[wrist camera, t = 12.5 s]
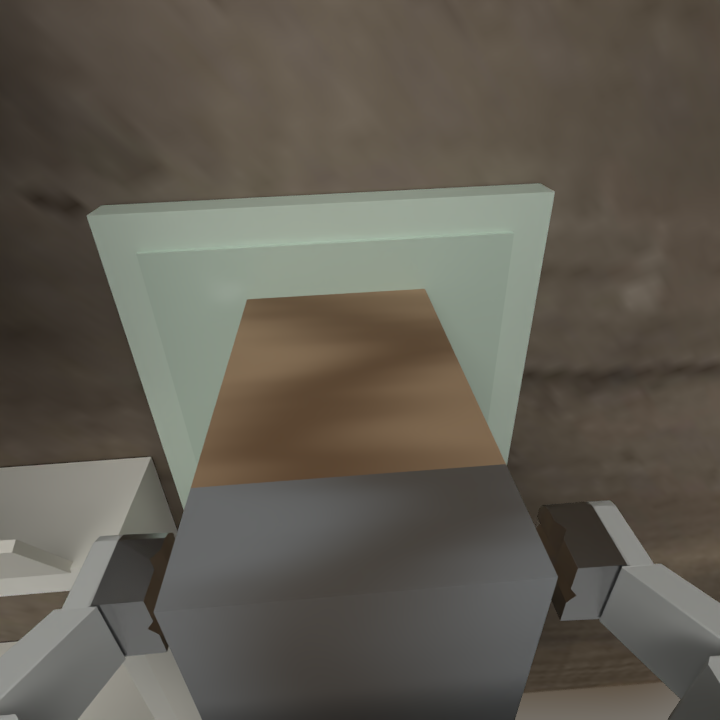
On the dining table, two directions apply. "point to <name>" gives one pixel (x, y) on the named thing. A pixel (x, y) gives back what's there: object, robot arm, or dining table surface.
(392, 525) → the grey brown rectangular block
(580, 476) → the dining table surface
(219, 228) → the plate
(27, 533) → the carton
